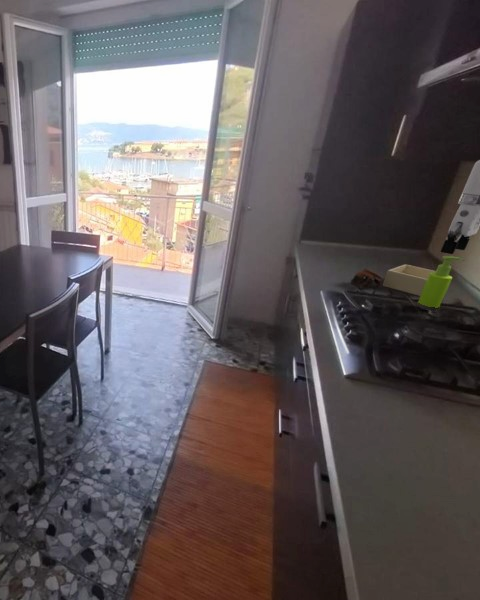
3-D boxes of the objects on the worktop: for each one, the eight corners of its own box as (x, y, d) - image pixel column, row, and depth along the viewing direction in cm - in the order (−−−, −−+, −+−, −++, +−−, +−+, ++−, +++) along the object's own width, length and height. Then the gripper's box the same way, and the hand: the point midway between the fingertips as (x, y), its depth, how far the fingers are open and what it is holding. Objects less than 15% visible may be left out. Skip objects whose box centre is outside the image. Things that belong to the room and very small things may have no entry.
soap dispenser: (444, 313, 127) (468, 260, 119) (420, 310, 130) (442, 258, 121) (436, 307, 132) (459, 255, 124) (413, 304, 135) (434, 253, 126)
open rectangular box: (438, 289, 148) (445, 273, 145) (422, 296, 141) (429, 280, 138) (399, 279, 159) (405, 264, 156) (382, 285, 152) (387, 270, 149)
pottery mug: (345, 281, 158) (359, 266, 155) (365, 294, 155) (380, 278, 153) (353, 284, 147) (369, 267, 144) (375, 297, 144) (391, 281, 142)
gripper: (481, 203, 108) (456, 257, 115) (501, 199, 116) (476, 250, 123) (449, 200, 114) (427, 251, 121) (470, 196, 122) (448, 245, 129)
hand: (452, 251), depth 122 cm, fingers open, 9 cm apart
